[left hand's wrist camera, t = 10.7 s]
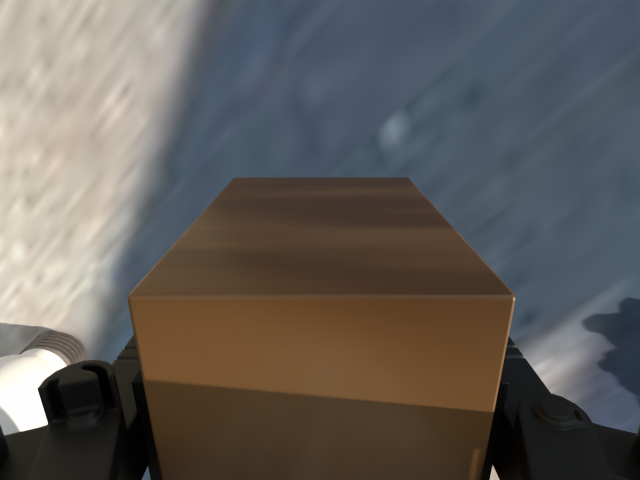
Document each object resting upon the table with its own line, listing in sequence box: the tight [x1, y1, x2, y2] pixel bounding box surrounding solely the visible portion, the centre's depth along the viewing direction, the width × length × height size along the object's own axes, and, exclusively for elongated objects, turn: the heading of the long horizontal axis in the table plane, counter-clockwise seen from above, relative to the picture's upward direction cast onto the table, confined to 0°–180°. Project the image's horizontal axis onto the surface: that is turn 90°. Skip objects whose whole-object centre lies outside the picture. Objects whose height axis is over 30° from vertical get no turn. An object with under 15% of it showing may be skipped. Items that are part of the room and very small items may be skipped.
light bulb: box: [0, 332, 86, 435], centre depth 28 cm, size 7×7×11 cm
